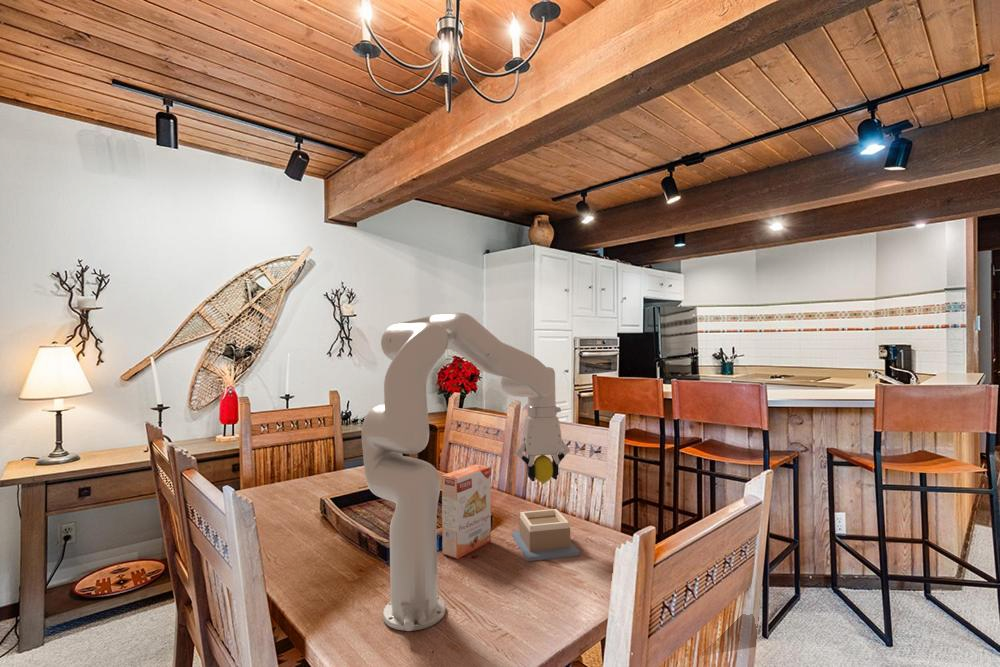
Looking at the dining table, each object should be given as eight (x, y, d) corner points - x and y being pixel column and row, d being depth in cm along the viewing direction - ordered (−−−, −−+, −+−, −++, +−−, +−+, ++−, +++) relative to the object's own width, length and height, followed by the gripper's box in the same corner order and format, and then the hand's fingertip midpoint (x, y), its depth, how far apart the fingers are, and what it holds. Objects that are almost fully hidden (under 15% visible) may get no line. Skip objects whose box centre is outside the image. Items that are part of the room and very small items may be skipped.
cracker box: (458, 560, 125) (457, 478, 126) (441, 554, 129) (440, 474, 129) (492, 541, 137) (491, 466, 137) (476, 536, 140) (474, 463, 140)
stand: (580, 555, 127) (579, 526, 127) (527, 561, 124) (526, 531, 124) (559, 530, 144) (558, 504, 144) (512, 535, 141) (511, 508, 141)
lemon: (552, 487, 131) (551, 457, 131) (531, 486, 132) (531, 456, 132) (554, 481, 136) (553, 452, 136) (534, 480, 137) (533, 451, 137)
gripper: (567, 409, 140) (568, 473, 140) (508, 411, 136) (509, 477, 136) (576, 412, 132) (578, 480, 132) (514, 416, 129) (515, 485, 129)
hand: (543, 478), depth 134 cm, fingers closed on lemon, 5 cm apart
